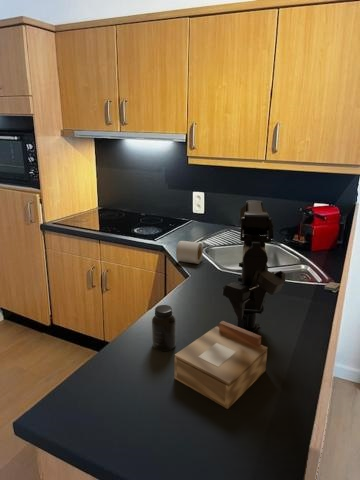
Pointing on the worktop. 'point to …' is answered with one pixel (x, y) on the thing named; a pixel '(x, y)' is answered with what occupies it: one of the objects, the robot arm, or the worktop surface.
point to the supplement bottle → (163, 328)
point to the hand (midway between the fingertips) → (249, 314)
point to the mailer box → (215, 387)
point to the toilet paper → (189, 252)
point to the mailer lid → (223, 352)
